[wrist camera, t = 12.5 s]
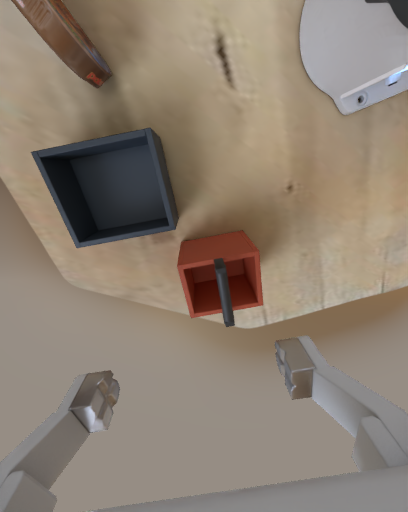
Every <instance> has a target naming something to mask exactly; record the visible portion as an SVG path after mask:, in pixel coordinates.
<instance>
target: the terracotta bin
mask: <svg viewBox="0 0 408 512" xmlns="http://www.w3.org/2000/svg"><path fill="white" fill-rule="evenodd" d="M177 267H178V271H179V275H180V279H181V282H182V286H183V290H184V294H185V297H186V301H187V305H188V309H189V313H190V316H191V318H194V317H200V316H206V315H211V314H217V313H222V312H223V318H224V323H225V325H226V327H229V326H234V325H235V324H234V315H233V311H234V310H239V309H245V308H251V307H256V306H262V305H263V297H262V283H261V269H260V255H259V250H258V249H257V247H256V246H255V245H254V244H253V243H252V241H251V240H250V239H249V238H248V236H247V235H246V234H245V233H244V231H243V230H242V231H237V232H232V233H226V234H221V235H216V236H210V237H205V238H200V239H194V240H189V241H184V242H181V247H180V252H179V258H178V264H177Z"/></svg>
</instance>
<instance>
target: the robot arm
mask: <svg viewBox="0 0 408 512" xmlns="http://www.w3.org/2000/svg"><path fill="white" fill-rule="evenodd" d="M299 37H300V51H301V57H302V61H303V64H304V67H305V70H306V72H307V74H308V76H309V77H310V79H311V80H312V82H313V83H314V84H315V85H316V86H317V87H318V88H319V89H321V90H322V91H324V92H325V93H327V94H328V95H329V96H331V97H332V98H333V100H334V102H335V104H336V106H337V108H338V109H339V111H340V112H341V113H342V114H343V115H349V114H352V113H354V112H357V111H359V110H361V109H364V108H366V107H368V106H371V105H373V104H375V103H378V102H380V101H383V100H385V99H387V98H390V97H392V96H394V95H397V94H399V93H402V92H404V91H406V90H408V0H305V4H304V7H303V11H302V16H301V23H300V36H299ZM358 98H360V102H359V103H358ZM275 348H276V349H277V352H276V360H277V365H278V367H279V370H280V373H281V375H283V376H284V377H285V385H286V387H287V389H288V392H289V394H290V396H291V399H292V400H293V399H300V398H309V397H312V399H313V400H315V402H316V403H318V404H319V405H320V406H321V407H322V408H323V409H324V410H325V411H326V412H327V413H328V414H330V415H331V416H332V417H333V418H334V419H335V420H336V421H337V422H338V423H339V424H341V426H343V427H344V428H345V429H346V430H347V431H348V432H349V433H350V434H351V435H352V436H353V437H355V438H356V441H355V444H354V449H353V453H352V458H353V460H354V462H355V464H356V466H357V468H358V469H359V471H360V472H354V473H347V474H340V475H333V476H326V477H319V478H312V479H305V480H298V481H291V482H285V483H277V484H271V485H264V486H257V487H250V488H244V489H236V490H230V491H222V492H215V493H209V494H201V495H195V496H188V497H181V498H174V499H167V500H160V501H153V502H146V503H139V504H132V505H126V506H118V507H112V508H105V509H98V510H91V511H84V512H408V414H407V413H406V412H405V411H404V410H403V409H401V408H400V407H398V406H397V405H395V404H393V403H392V402H390V401H388V400H387V399H385V398H384V397H382V396H380V395H379V394H377V393H376V392H374V391H372V390H371V389H369V388H367V387H366V386H364V385H363V384H361V383H360V382H358V381H356V380H355V379H353V378H352V377H350V376H348V375H347V374H345V373H344V372H342V371H340V370H339V369H337V368H335V367H334V366H331V367H330V366H329V365H328V363H327V362H326V360H325V359H324V357H323V356H322V354H321V353H320V352H319V350H318V349H317V347H316V346H315V344H314V343H313V341H312V340H311V338H310V337H309V336H307V335H306V336H300V337H293V338H288V339H283V340H278V341H275ZM112 377H113V373H112V372H111V371H102V372H95V373H88V374H82V375H79V376H77V377H76V379H75V380H74V382H73V384H72V385H71V387H70V389H69V390H68V392H67V394H66V396H65V397H64V399H63V401H62V403H61V404H60V406H59V408H58V410H57V411H56V413H52V414H51V415H50V416H49V417H48V418H47V419H46V420H45V421H44V422H43V423H42V424H41V425H40V426H38V427H37V428H36V429H35V430H34V431H33V432H32V433H31V434H30V435H29V436H28V437H27V438H26V439H25V440H24V441H23V442H21V443H20V444H19V445H18V446H17V447H16V448H15V449H14V450H13V451H12V452H11V453H10V454H9V455H8V456H7V457H6V458H4V459H3V460H2V461H1V462H0V512H52V511H53V509H54V507H55V504H56V502H57V498H56V496H55V495H54V494H52V493H51V492H50V491H49V489H50V488H51V486H52V485H53V483H54V482H55V481H56V479H57V478H58V477H59V475H60V474H61V473H62V471H63V470H64V468H65V467H66V466H67V465H68V463H69V462H70V460H71V459H72V458H73V456H74V455H75V454H76V452H77V451H78V450H79V448H80V447H81V445H82V444H83V443H84V441H85V440H86V439H87V437H88V436H89V435H90V434H89V433H93V432H98V431H103V430H108V427H109V424H110V421H111V418H112V415H113V410H112V407H113V406H114V405H115V404H116V403H117V400H118V397H119V391H120V387H119V384H118V382H117V380H115V379H113V378H112Z"/></svg>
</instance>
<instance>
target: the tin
mask: <svg viewBox="0 0 408 512" xmlns="http://www.w3.org/2000/svg"><path fill="white" fill-rule="evenodd" d="M12 2H13V3H14V4H15V5H16V7H17V8H18V9H19V10H20V12H21V13H22V14H23V15H24V17H25V18H26V19H27V20H28V21H29V23H30V24H31V25H32V26H33V28H34V29H35V30H36V31H37V33H38V34H39V35H40V36H41V37H42V38H43V40H44V41H45V42H46V43H47V44H48V45H49V47H50V48H51V49H52V50H53V51H54V52H55V53H56V54H57V55H58V56H59V58H60V59H61V60H62V61H63V62H64V63H65V64H66V65H67V66H68V67H69V68H70V69H71V70H72V71H73V72H75V73H76V74H77V75H78V76H79V77H80V78H82V79H83V80H85V81H87V82H88V83H90V84H91V85H93V86H94V87H96V88H99V87H100V86H102V84H103V83H104V82H105V81H106V80H107V79H108V78H109V77H111V76H112V73H111V71H110V69H109V67H108V66H107V64H106V63H105V61H104V60H103V58H102V57H101V55H100V54H99V53H98V51H97V50H96V48H95V47H94V46H93V44H92V43H91V41H90V40H89V39H88V37H87V36H86V35H85V33H84V32H83V30H82V29H81V28H80V26H79V25H78V23H77V22H76V21H75V19H74V18H73V16H72V15H71V14H70V12H69V11H68V10H67V8H66V7H65V5H64V4H63V3H62V1H61V0H12Z"/></svg>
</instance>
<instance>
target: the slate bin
mask: <svg viewBox="0 0 408 512" xmlns="http://www.w3.org/2000/svg"><path fill="white" fill-rule="evenodd" d="M31 153H32V156H33V158H34V160H35V162H36V164H37V166H38V168H39V170H40V172H41V174H42V177H43V179H44V181H45V183H46V185H47V187H48V189H49V191H50V193H51V195H52V197H53V200H54V202H55V204H56V206H57V208H58V210H59V212H60V214H61V216H62V218H63V221H64V223H65V225H66V227H67V229H68V231H69V233H70V235H71V237H72V239H73V242H74V244H75V246H76V248H80V247H86V246H91V245H96V244H102V243H107V242H112V241H117V240H123V239H128V238H133V237H139V236H144V235H149V234H154V233H160V232H165V231H170V230H175V229H176V226H177V223H178V219H179V217H178V212H177V208H176V204H175V200H174V195H173V191H172V187H171V183H170V178H169V174H168V170H167V165H166V161H165V157H164V153H163V148H162V144H161V140H160V137H159V136H158V135H157V134H156V133H155V132H154V131H153V130H152V129H151V128H146V129H141V130H136V131H131V132H127V133H122V134H117V135H112V136H107V137H102V138H97V139H92V140H87V141H82V142H78V143H73V144H68V145H63V146H58V147H53V148H48V149H43V150H38V151H33V152H31Z"/></svg>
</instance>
